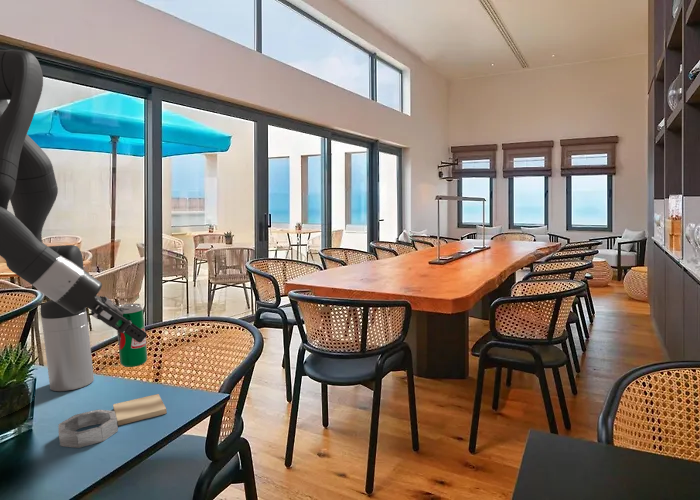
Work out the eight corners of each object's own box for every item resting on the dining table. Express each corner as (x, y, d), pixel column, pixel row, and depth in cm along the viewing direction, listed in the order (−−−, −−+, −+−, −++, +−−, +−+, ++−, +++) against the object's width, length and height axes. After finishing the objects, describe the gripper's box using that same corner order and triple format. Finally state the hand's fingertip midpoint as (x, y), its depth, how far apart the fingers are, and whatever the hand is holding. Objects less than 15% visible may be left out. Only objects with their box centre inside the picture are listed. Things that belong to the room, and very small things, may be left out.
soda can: (137, 368, 98) (132, 308, 96) (115, 367, 99) (109, 308, 97) (152, 359, 103) (147, 303, 101) (130, 359, 104) (125, 302, 102)
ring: (59, 431, 95) (58, 418, 95) (114, 417, 100) (113, 405, 99) (60, 452, 87) (58, 439, 87) (119, 437, 92) (118, 424, 91)
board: (113, 408, 104) (113, 404, 104) (158, 398, 108) (158, 393, 108) (118, 425, 96) (117, 420, 96) (166, 413, 101) (166, 408, 101)
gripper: (84, 273, 89) (160, 327, 96) (80, 265, 101) (148, 313, 108) (52, 307, 87) (133, 360, 94) (53, 294, 99) (124, 342, 106)
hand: (141, 335), depth 101 cm, fingers closed on soda can, 5 cm apart
